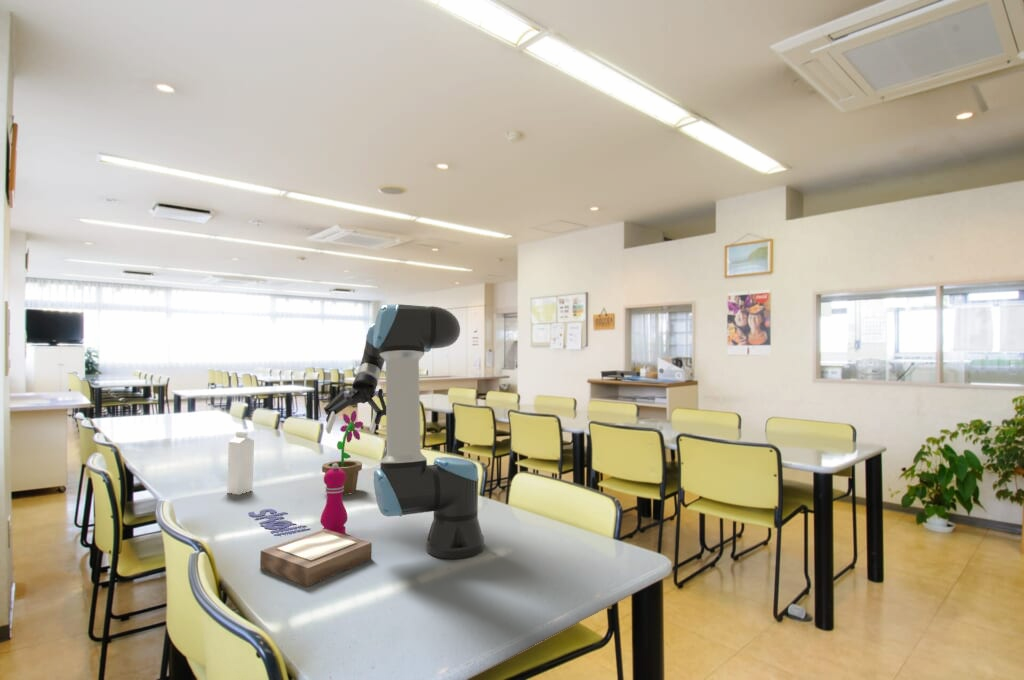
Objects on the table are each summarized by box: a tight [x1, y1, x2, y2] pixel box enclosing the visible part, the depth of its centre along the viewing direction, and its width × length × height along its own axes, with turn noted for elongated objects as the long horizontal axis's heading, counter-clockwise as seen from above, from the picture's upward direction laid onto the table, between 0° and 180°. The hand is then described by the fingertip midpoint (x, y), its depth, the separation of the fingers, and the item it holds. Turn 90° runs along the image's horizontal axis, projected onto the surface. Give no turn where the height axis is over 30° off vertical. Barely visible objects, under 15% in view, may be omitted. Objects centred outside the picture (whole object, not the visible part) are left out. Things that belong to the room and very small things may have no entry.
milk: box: [226, 431, 255, 496], centre depth 184 cm, size 6×6×22 cm
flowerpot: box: [321, 410, 364, 496], centre depth 185 cm, size 14×14×30 cm
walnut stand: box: [259, 529, 373, 587], centre depth 120 cm, size 18×18×4 cm
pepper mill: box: [320, 463, 348, 535], centre depth 140 cm, size 7×7×20 cm
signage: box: [247, 508, 310, 537], centre depth 151 cm, size 28×1×10 cm
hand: (349, 431), depth 152 cm, fingers open, 13 cm apart
